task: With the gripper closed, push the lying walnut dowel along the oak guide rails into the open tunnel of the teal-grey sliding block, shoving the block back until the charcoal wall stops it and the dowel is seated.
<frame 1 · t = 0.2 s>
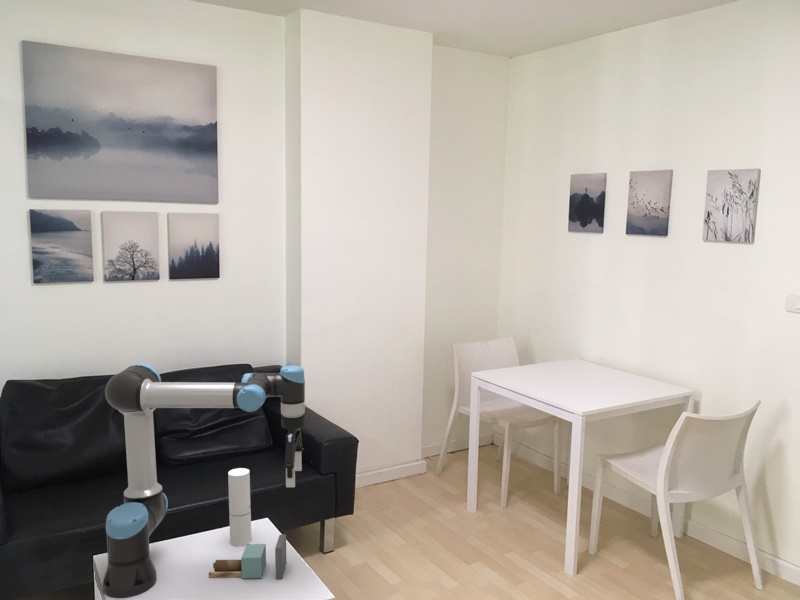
hand: (294, 478, 208), 28 cm above the table, fingers open, 13 cm apart
wall: (281, 571, 204), on the table
cylindrical container: (240, 541, 224), on the table
dowel: (228, 572, 204), on the table
rails: (227, 572, 204), on the table
block: (254, 560, 204), point 4 cm above the table, slide at 0.0 cm
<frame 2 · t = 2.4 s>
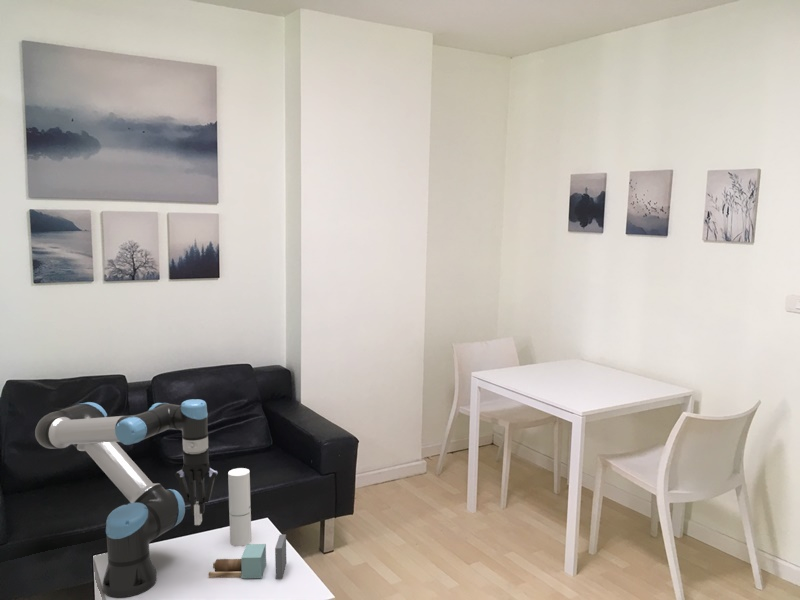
hand: (198, 523, 202), 16 cm above the table, fingers closed
dowel: (228, 572, 204), on the table, tilted 12°
everything else where it was.
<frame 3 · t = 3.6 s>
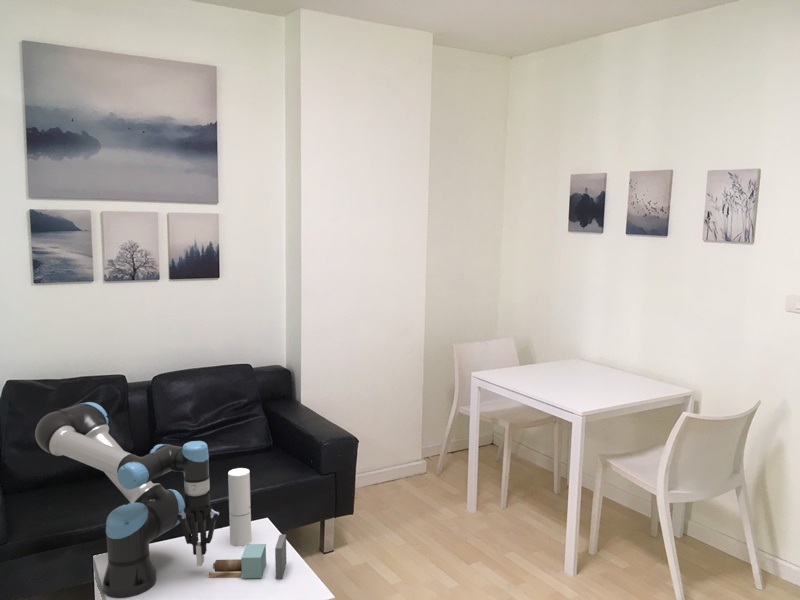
hand: (200, 563, 203), 3 cm above the table, fingers closed
dowel: (228, 572, 204), on the table
everything else where it was.
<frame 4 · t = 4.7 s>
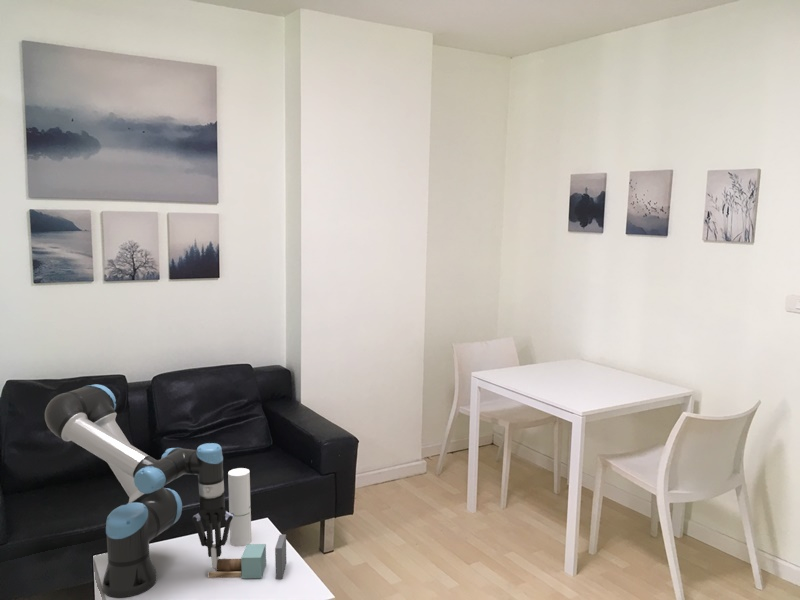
hand: (215, 565, 203), 2 cm above the table, fingers closed
dowel: (230, 571, 204), on the table, tilted 9°, touching gripper
everything else where it was.
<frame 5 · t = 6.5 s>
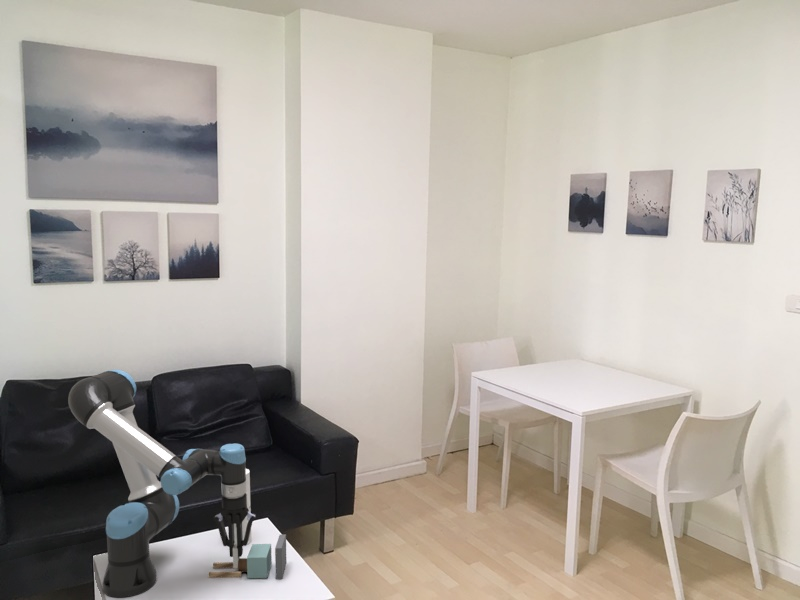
hand: (236, 565, 204), 2 cm above the table, fingers closed
dowel: (251, 571, 204), on the table, tilted 9°, touching block, gripper
block: (259, 560, 204), point 4 cm above the table, slide at 1.8 cm, touching dowel
everything else where it was.
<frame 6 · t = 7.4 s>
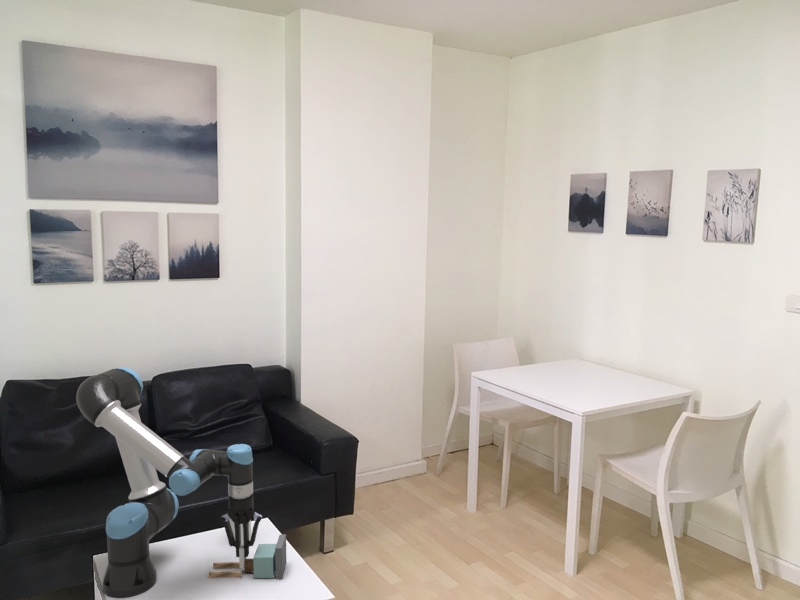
hand: (242, 566, 204), 2 cm above the table, fingers closed
dowel: (258, 571, 204), on the table, tilted 9°, touching gripper
block: (265, 560, 204), point 4 cm above the table, slide at 3.7 cm
everything else where it was.
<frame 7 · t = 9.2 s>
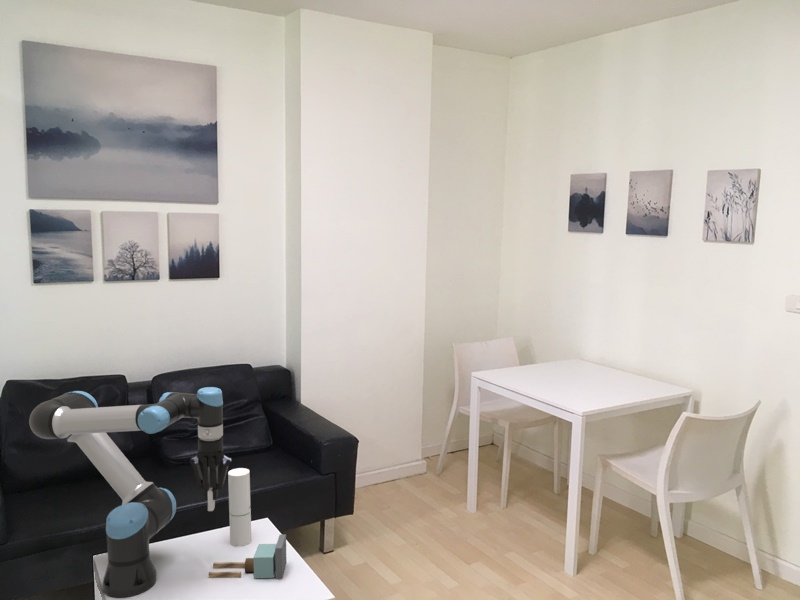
hand: (211, 509, 205), 19 cm above the table, fingers closed
dowel: (258, 571, 204), on the table, tilted 21°
everything else where it was.
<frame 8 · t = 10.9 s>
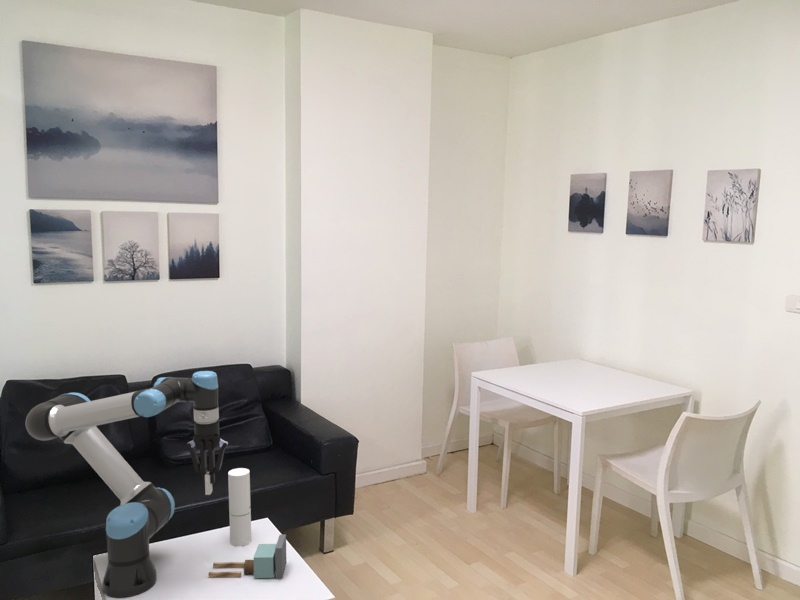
hand: (208, 492, 205), 24 cm above the table, fingers closed
dowel: (258, 571, 204), on the table, tilted 9°
everything else where it was.
at the end: block slide at 3.7 cm; dowel 0.3 cm from the target spot on the block, point 0.0 cm above the block's base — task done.
